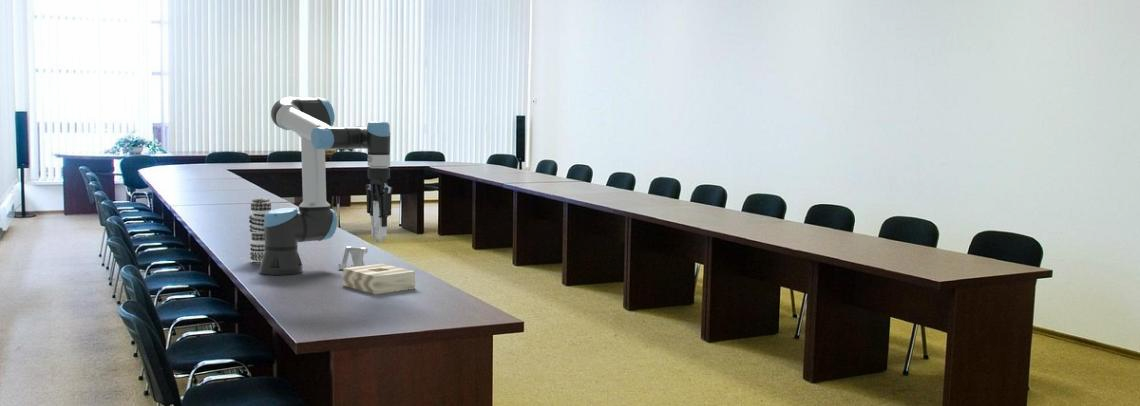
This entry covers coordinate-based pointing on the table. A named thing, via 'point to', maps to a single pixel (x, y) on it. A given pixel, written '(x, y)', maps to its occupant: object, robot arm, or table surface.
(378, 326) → the table surface
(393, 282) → the block
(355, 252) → the portable electronic device stand
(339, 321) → the table surface
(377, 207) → the steel pin
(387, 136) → the robot arm
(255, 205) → the decorative candle
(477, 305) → the table surface
